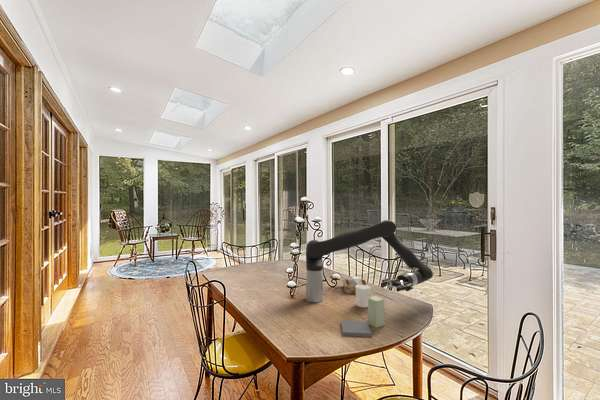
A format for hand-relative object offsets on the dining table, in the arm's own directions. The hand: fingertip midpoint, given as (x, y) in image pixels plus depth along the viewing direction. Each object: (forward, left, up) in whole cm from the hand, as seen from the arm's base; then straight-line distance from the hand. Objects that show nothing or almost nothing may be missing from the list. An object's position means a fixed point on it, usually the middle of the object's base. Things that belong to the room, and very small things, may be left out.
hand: (389, 287), depth 146 cm
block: (-7, -8, -15) cm, 18 cm away
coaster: (-17, -14, -15) cm, 27 cm away
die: (-11, +42, -15) cm, 46 cm away
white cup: (-10, +16, -15) cm, 24 cm away
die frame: (-11, +42, -15) cm, 46 cm away
